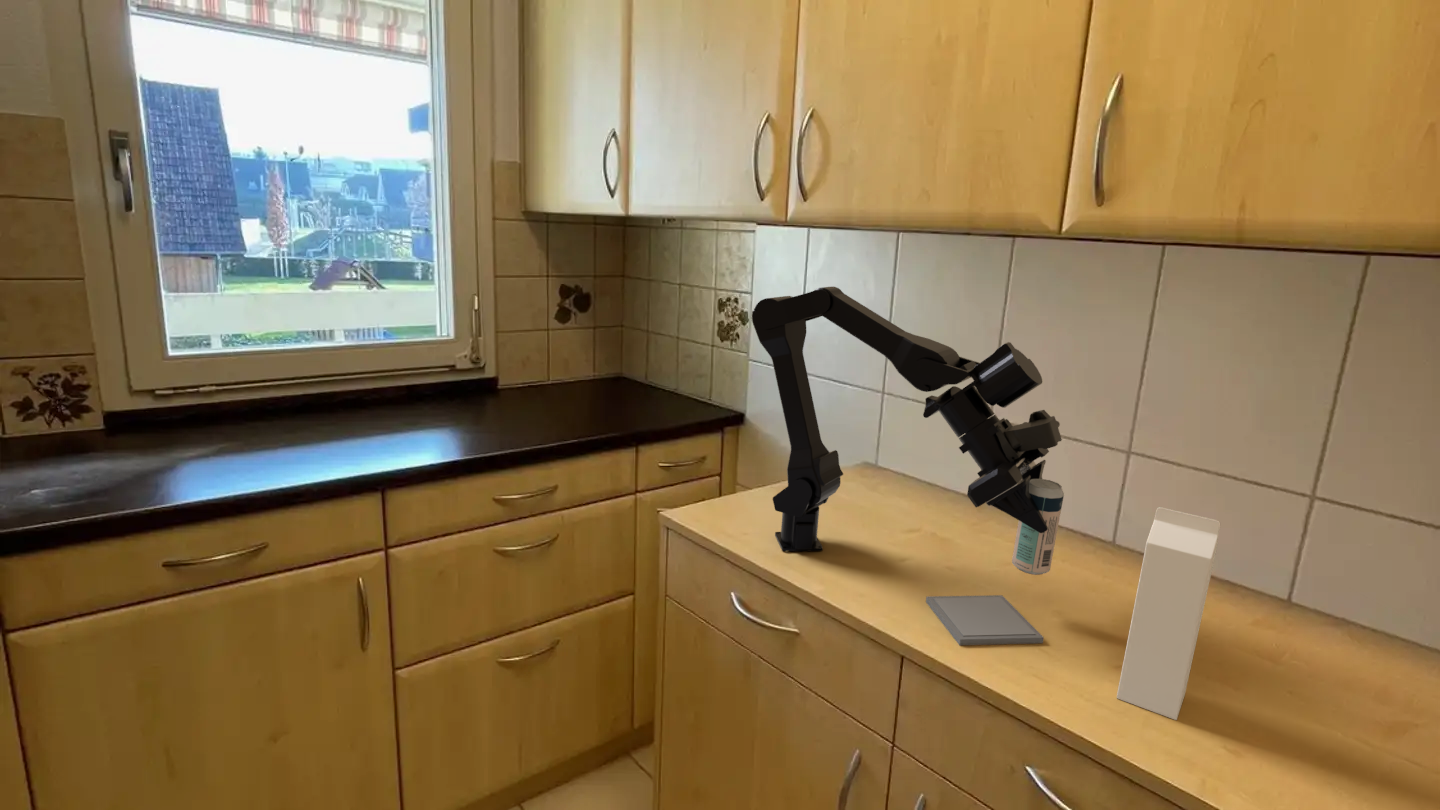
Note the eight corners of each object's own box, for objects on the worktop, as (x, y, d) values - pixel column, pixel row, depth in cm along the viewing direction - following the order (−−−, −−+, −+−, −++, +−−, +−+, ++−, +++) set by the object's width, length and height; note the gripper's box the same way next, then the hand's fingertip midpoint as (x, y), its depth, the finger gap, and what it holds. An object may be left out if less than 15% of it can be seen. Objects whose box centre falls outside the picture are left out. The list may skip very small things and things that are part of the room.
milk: (1126, 676, 91) (1160, 498, 86) (1185, 696, 88) (1224, 513, 82) (1115, 699, 86) (1150, 513, 81) (1177, 722, 83) (1218, 529, 78)
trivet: (925, 601, 106) (926, 595, 106) (1001, 600, 108) (1002, 594, 108) (959, 645, 96) (960, 638, 96) (1042, 643, 97) (1043, 636, 97)
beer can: (1048, 564, 105) (1064, 481, 102) (1050, 580, 100) (1066, 493, 97) (1011, 557, 106) (1025, 475, 103) (1011, 572, 102) (1025, 486, 99)
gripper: (1008, 405, 92) (1092, 517, 89) (1044, 382, 107) (1116, 477, 104) (935, 453, 98) (1010, 559, 95) (978, 425, 113) (1044, 515, 110)
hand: (1049, 525), depth 101 cm, fingers closed on beer can, 5 cm apart
